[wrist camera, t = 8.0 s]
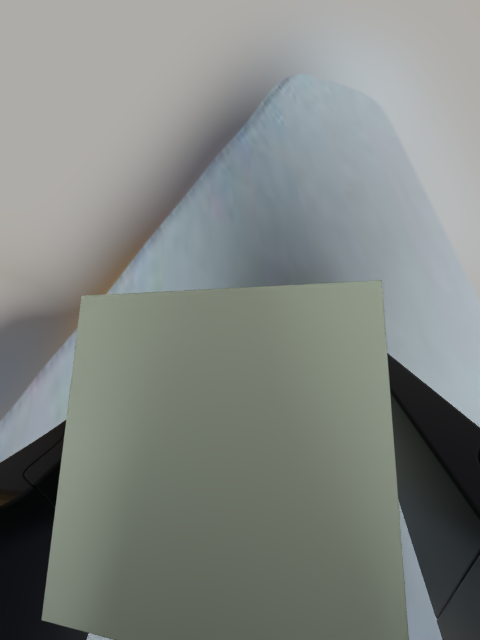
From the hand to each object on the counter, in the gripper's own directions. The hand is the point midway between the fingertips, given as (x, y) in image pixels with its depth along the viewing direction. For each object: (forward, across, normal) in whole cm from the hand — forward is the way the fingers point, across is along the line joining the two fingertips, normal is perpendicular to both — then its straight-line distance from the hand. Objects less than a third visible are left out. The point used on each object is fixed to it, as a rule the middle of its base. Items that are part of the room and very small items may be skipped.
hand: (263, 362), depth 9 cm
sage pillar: (+5, 0, +6) cm, 8 cm away
